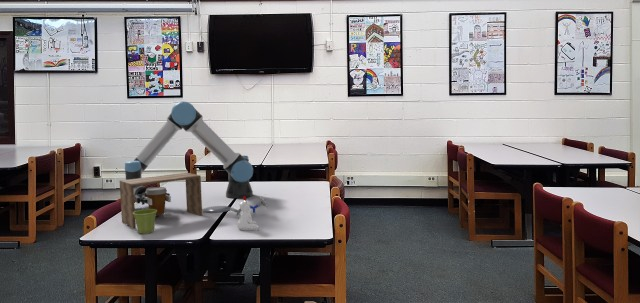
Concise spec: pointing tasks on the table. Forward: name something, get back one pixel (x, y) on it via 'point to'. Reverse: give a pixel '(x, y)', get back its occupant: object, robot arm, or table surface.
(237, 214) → the molecular model
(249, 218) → the white creature statuette
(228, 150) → the robot arm
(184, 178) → the walnut shelf
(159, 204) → the disposable coffee cup
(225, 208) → the slate coaster
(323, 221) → the table surface
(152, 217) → the plant pot
